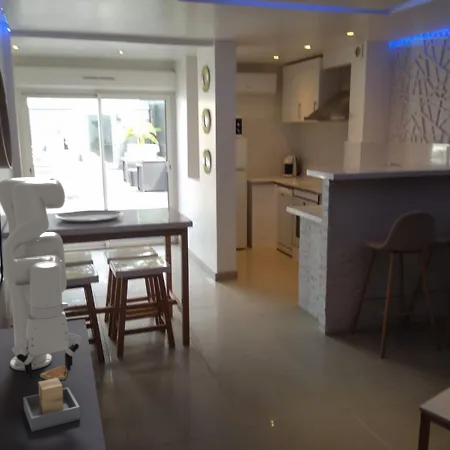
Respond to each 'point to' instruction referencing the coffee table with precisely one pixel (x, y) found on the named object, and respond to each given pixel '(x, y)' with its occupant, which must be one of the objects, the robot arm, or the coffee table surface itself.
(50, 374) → the shard
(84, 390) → the coffee table surface
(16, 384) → the coffee table surface
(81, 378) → the coffee table surface
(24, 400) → the tray
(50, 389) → the oak block
